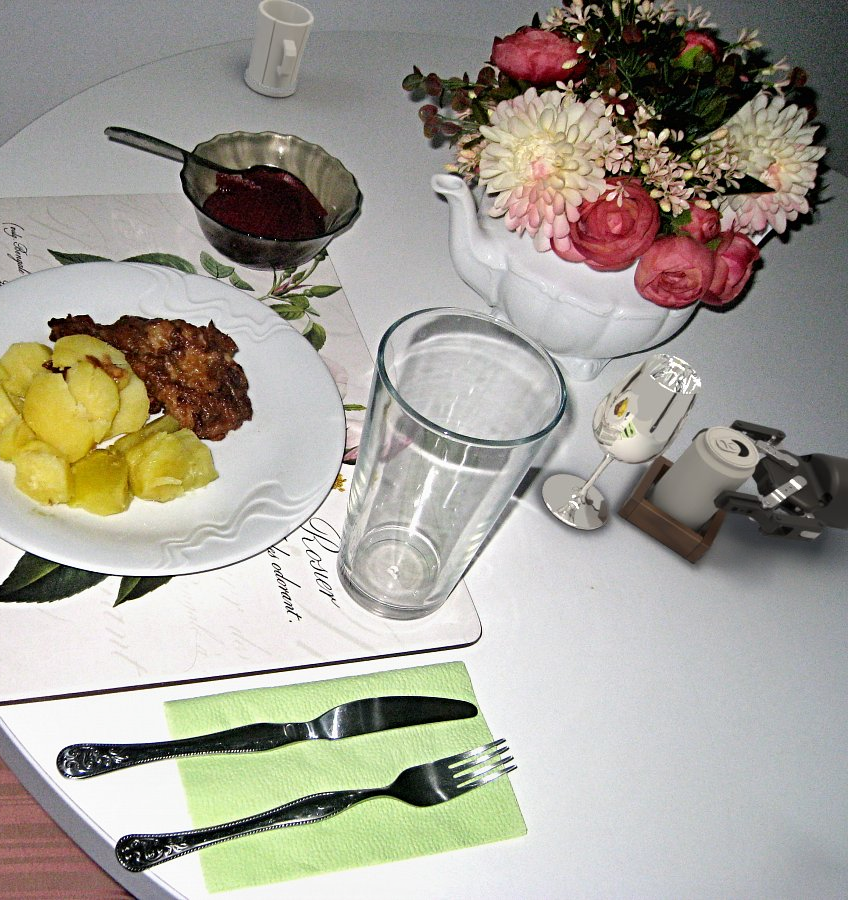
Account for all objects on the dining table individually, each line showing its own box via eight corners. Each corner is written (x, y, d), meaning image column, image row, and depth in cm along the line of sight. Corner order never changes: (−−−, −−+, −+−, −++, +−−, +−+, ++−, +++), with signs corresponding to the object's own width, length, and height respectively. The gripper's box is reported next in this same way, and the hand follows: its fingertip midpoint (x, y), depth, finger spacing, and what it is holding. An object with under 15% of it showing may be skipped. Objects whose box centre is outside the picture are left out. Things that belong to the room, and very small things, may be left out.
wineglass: (527, 494, 98) (619, 363, 83) (564, 464, 102) (658, 334, 88) (585, 543, 95) (691, 415, 80) (620, 509, 99) (727, 383, 85)
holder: (718, 516, 102) (733, 500, 100) (693, 564, 96) (709, 548, 94) (645, 470, 104) (659, 453, 102) (617, 513, 99) (631, 497, 97)
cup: (313, 96, 148) (333, 24, 140) (277, 109, 143) (295, 35, 134) (268, 66, 152) (284, -6, 143) (231, 78, 147) (246, 4, 138)
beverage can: (704, 542, 98) (772, 474, 90) (650, 533, 98) (714, 463, 89) (687, 497, 103) (751, 428, 94) (635, 488, 102) (695, 417, 93)
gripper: (846, 423, 98) (709, 395, 96) (901, 527, 88) (749, 498, 87) (801, 466, 103) (670, 440, 102) (848, 569, 94) (705, 542, 92)
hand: (707, 467), depth 94 cm, fingers open, 8 cm apart
